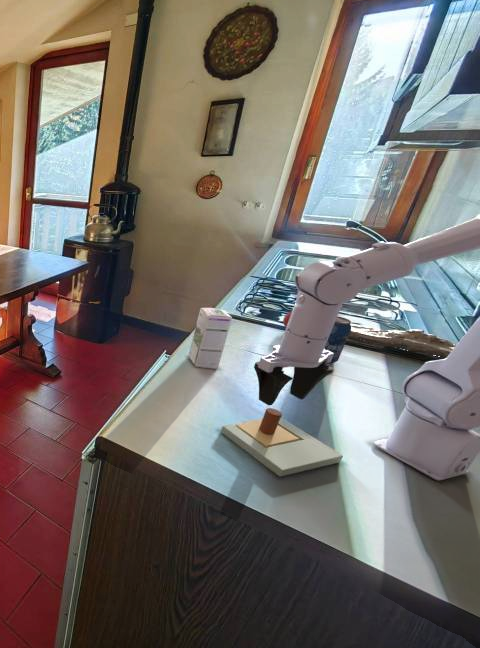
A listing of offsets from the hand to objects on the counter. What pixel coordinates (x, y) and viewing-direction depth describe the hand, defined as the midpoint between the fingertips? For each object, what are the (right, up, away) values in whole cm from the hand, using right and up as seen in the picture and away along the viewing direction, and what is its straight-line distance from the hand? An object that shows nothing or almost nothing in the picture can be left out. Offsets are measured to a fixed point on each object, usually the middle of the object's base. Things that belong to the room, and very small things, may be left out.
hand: (281, 399), depth 72 cm
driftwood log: (+64, +8, +44) cm, 78 cm away
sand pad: (-1, -8, +3) cm, 9 cm away
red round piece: (+44, +11, +50) cm, 67 cm away
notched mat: (0, -9, +1) cm, 9 cm away
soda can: (+37, +4, +33) cm, 50 cm away
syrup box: (+4, +3, +30) cm, 31 cm away
